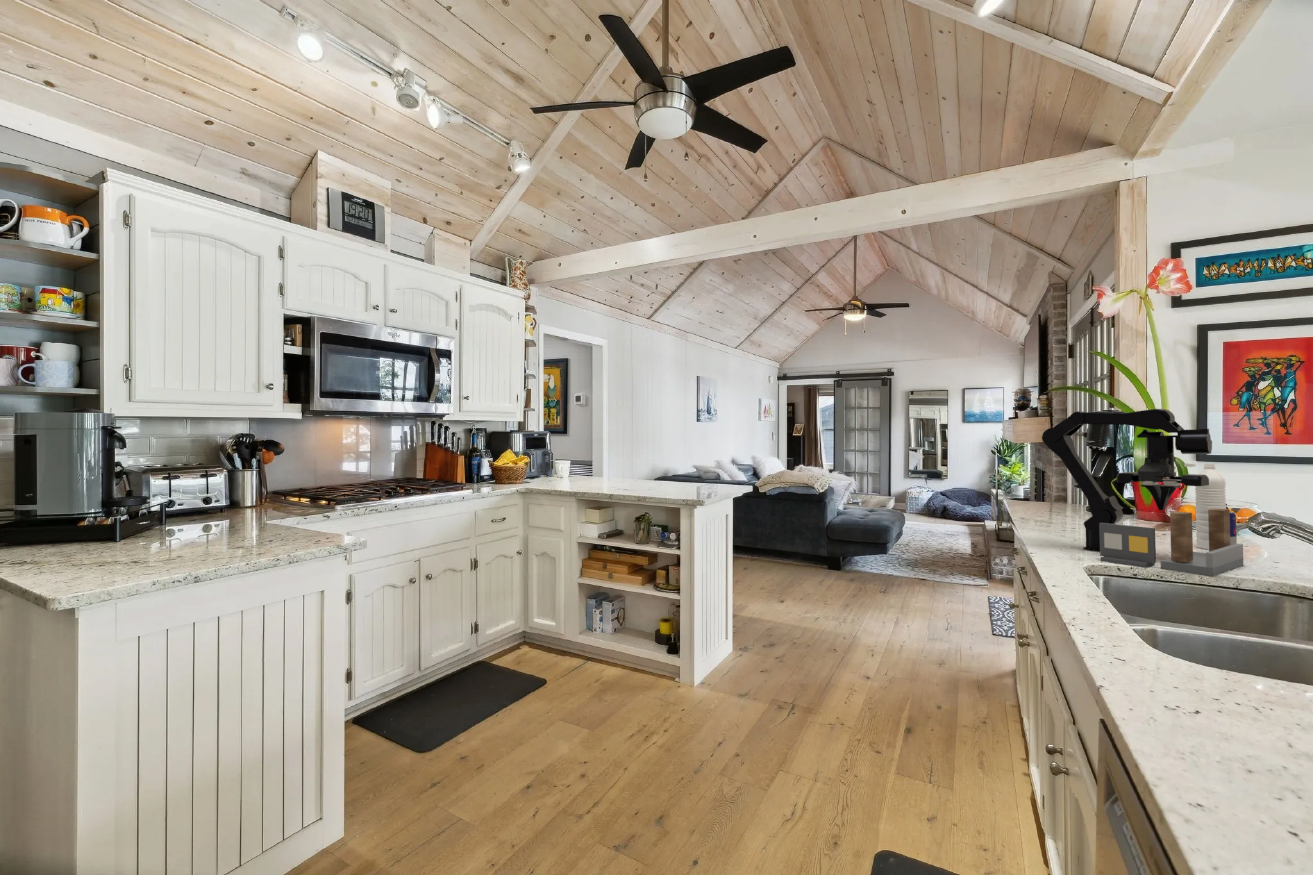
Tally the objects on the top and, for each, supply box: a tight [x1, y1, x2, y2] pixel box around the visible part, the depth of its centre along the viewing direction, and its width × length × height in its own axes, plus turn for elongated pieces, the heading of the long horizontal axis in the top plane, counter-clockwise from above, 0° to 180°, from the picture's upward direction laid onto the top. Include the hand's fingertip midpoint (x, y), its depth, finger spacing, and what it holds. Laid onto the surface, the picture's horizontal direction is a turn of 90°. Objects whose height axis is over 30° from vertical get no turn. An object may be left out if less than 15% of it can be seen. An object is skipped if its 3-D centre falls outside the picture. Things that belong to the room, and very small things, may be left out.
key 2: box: [1208, 508, 1230, 552], centre depth 150 cm, size 3×4×12 cm
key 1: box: [1169, 511, 1194, 563], centre depth 146 cm, size 3×4×12 cm
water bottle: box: [1184, 462, 1227, 551], centre depth 170 cm, size 9×6×25 cm
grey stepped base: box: [1160, 543, 1244, 577], centre depth 148 cm, size 10×20×6 cm, turn 120°
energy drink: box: [1230, 511, 1238, 545], centre depth 161 cm, size 5×5×12 cm
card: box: [1099, 523, 1157, 569], centre depth 154 cm, size 12×5×10 cm, turn 30°
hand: (1161, 510), depth 160 cm, fingers closed
